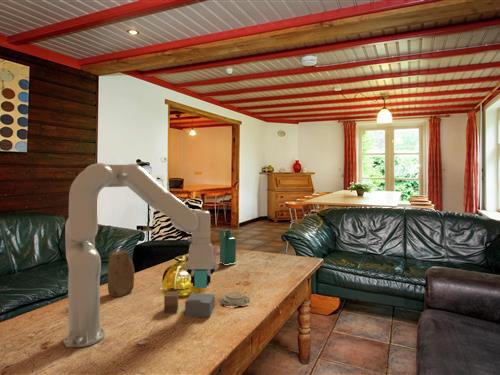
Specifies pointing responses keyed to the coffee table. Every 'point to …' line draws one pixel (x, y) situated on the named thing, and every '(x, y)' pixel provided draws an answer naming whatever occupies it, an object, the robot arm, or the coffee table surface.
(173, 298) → the walnut block
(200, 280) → the teal block
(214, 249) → the lily
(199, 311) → the base block
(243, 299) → the grey stepped disc
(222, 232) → the green bottle
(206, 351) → the coffee table surface
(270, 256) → the coffee table surface
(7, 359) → the coffee table surface
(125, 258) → the brown rounded oval lump
